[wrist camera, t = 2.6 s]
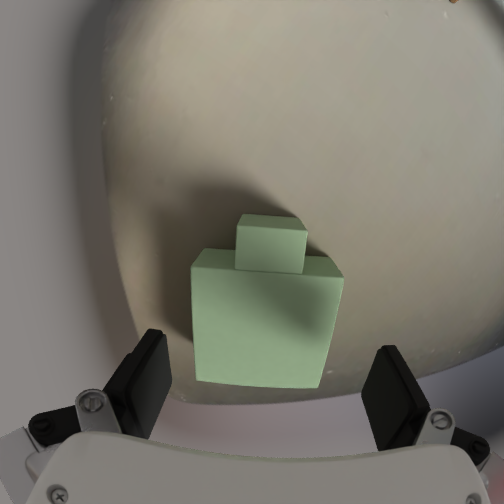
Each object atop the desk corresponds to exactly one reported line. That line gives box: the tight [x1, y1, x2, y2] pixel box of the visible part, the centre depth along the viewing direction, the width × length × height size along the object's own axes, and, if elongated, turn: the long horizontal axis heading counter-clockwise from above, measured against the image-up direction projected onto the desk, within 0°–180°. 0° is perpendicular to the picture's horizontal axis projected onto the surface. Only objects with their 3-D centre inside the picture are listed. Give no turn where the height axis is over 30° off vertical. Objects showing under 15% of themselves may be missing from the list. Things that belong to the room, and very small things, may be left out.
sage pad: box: [190, 214, 344, 388], centre depth 14 cm, size 7×9×3 cm
